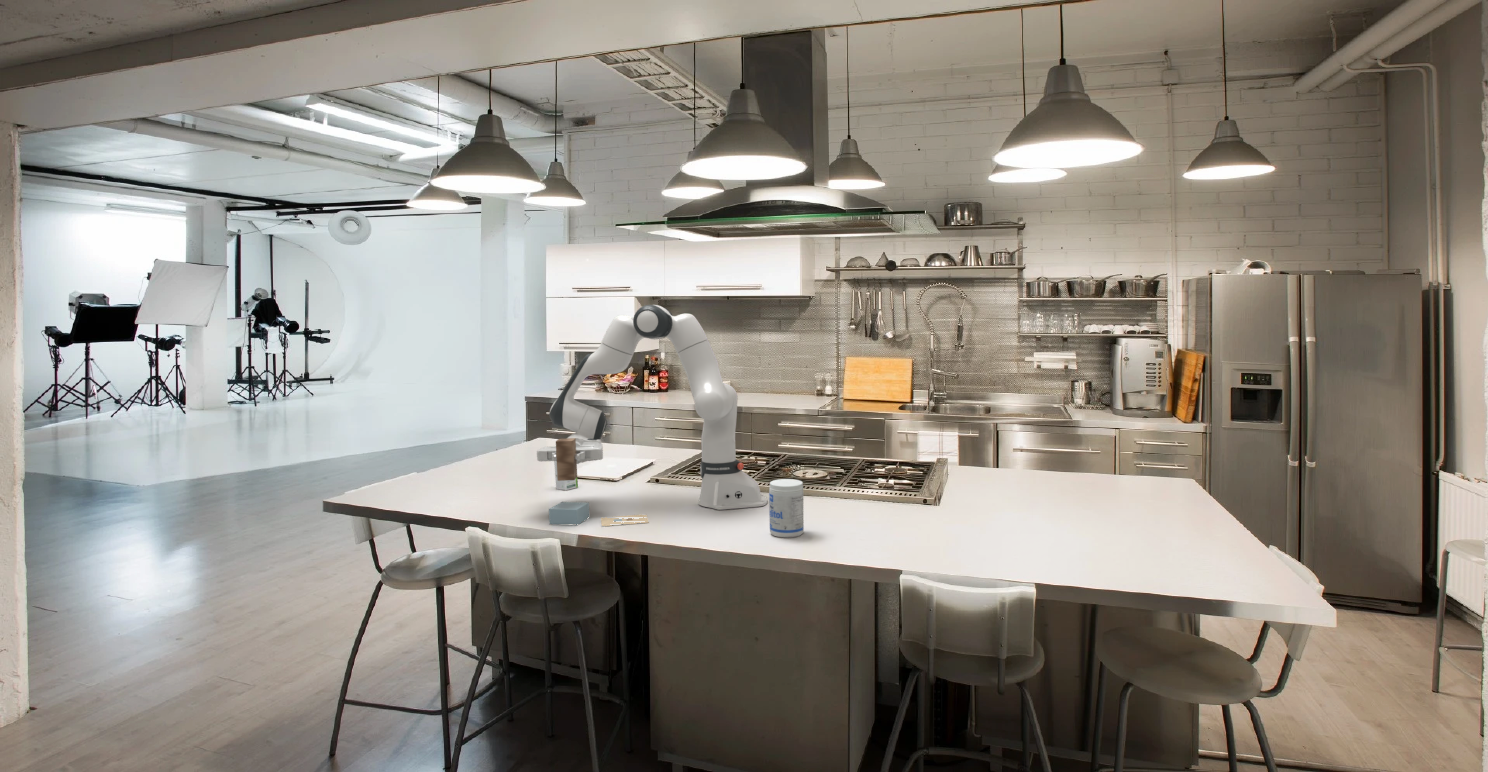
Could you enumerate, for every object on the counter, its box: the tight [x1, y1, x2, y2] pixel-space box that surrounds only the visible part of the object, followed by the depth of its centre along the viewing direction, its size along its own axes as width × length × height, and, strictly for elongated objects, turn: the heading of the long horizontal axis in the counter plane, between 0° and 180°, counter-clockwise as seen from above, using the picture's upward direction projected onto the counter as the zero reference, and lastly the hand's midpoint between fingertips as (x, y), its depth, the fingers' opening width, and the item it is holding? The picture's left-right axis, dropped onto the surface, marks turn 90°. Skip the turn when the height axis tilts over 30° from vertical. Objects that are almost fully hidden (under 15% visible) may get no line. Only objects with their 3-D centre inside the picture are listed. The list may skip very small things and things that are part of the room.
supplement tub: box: [768, 478, 805, 539], centre depth 223 cm, size 10×10×15 cm
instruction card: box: [600, 514, 650, 527], centre depth 243 cm, size 14×10×1 cm
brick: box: [548, 501, 590, 526], centre depth 244 cm, size 9×9×5 cm
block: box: [555, 437, 578, 481], centre depth 242 cm, size 5×5×12 cm
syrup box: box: [553, 461, 579, 491], centre depth 289 cm, size 6×6×14 cm
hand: (565, 458), depth 241 cm, fingers closed on block, 5 cm apart
